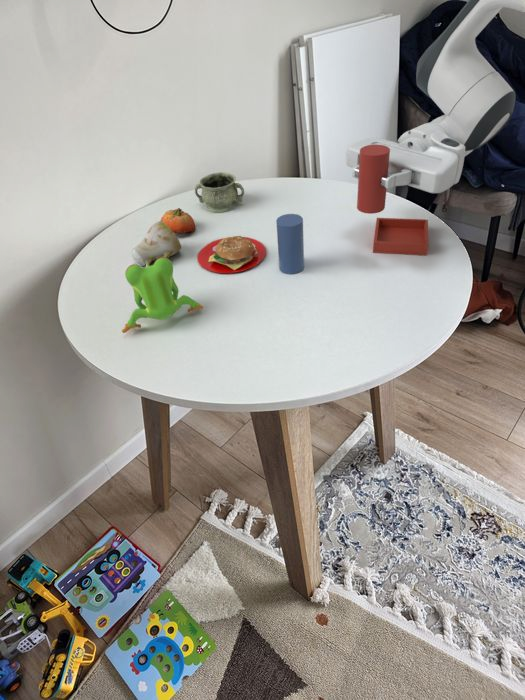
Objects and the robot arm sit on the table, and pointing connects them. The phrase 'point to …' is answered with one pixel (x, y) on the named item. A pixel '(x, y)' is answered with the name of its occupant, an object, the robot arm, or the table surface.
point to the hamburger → (231, 254)
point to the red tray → (401, 236)
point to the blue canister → (290, 243)
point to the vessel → (219, 192)
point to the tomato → (178, 221)
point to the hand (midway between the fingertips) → (369, 178)
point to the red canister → (372, 178)
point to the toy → (155, 292)
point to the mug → (156, 245)
